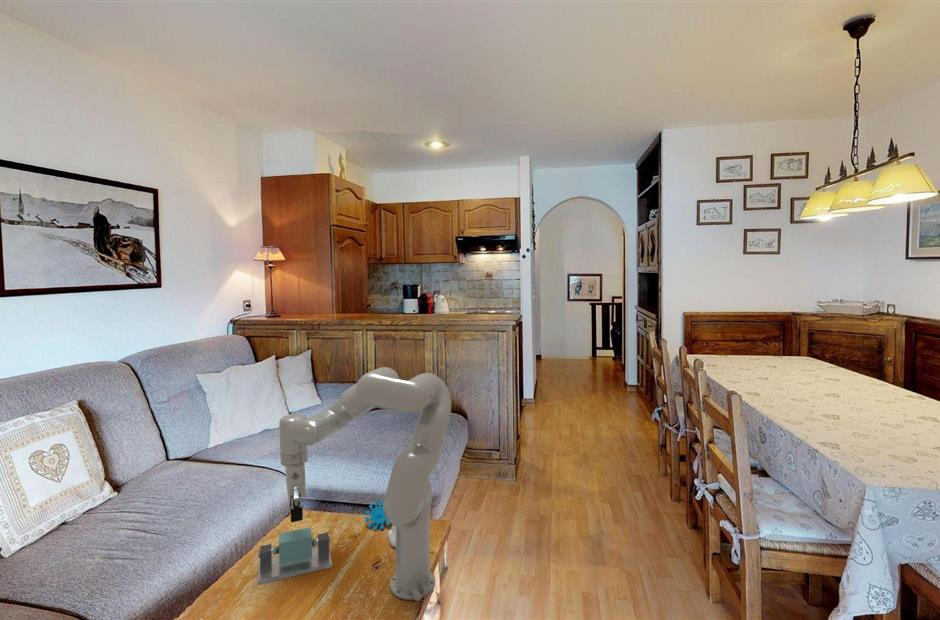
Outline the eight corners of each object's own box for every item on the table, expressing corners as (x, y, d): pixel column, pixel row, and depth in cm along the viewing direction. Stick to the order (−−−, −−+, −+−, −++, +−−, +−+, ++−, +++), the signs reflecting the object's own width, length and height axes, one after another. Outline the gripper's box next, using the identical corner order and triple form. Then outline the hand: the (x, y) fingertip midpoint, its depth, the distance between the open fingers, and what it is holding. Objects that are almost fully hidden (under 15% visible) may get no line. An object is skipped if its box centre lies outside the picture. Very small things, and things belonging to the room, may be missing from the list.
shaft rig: (332, 567, 133) (331, 543, 133) (258, 584, 125) (257, 559, 125) (328, 549, 142) (328, 527, 142) (259, 564, 134) (258, 541, 134)
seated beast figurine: (416, 535, 150) (416, 501, 150) (411, 551, 142) (411, 514, 141) (389, 534, 151) (389, 499, 150) (382, 549, 142) (381, 512, 142)
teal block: (312, 558, 132) (311, 536, 132) (279, 565, 129) (279, 543, 129) (310, 547, 138) (310, 527, 137) (279, 554, 134) (278, 533, 134)
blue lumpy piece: (360, 526, 153) (370, 496, 159) (363, 531, 157) (372, 502, 164) (391, 532, 152) (399, 502, 158) (393, 537, 156) (401, 508, 163)
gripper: (309, 465, 125) (311, 524, 126) (305, 445, 141) (307, 498, 142) (280, 469, 122) (282, 530, 123) (280, 449, 138) (282, 503, 139)
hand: (296, 513), depth 133 cm, fingers open, 9 cm apart
